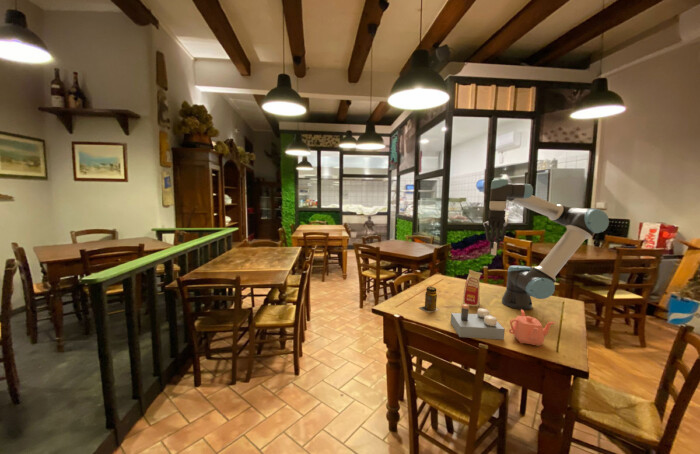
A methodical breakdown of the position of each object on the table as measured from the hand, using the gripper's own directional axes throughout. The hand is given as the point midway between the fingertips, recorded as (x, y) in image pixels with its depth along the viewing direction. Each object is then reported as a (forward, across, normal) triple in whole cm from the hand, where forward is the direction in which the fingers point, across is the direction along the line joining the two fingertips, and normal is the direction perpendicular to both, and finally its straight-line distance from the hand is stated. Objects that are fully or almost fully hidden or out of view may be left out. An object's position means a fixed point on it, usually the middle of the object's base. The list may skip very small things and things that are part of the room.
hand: (493, 254), depth 142 cm
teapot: (+33, -7, +27) cm, 43 cm away
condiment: (+33, +31, -2) cm, 45 cm away
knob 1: (+32, +9, +16) cm, 37 cm away
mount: (+32, +14, +20) cm, 41 cm away
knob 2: (+32, +10, +24) cm, 41 cm away
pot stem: (+27, +20, +20) cm, 39 cm away
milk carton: (+33, +4, -14) cm, 36 cm away
